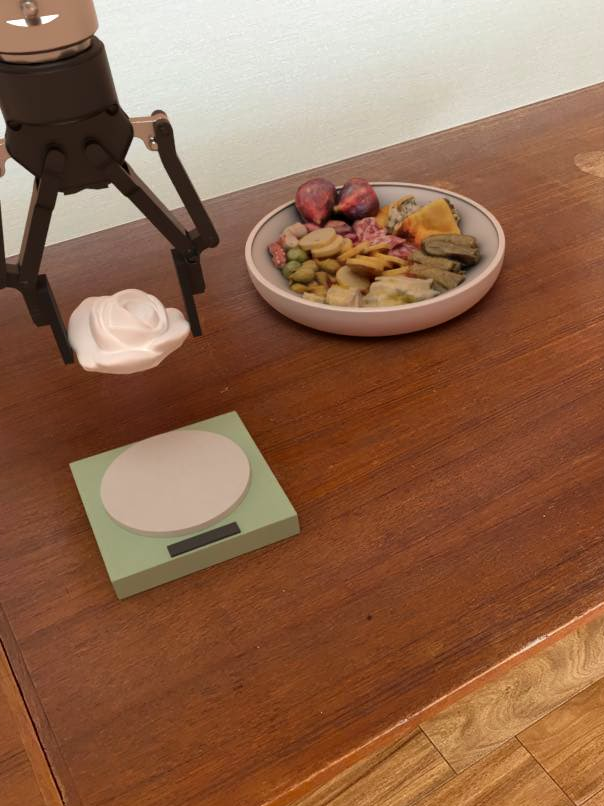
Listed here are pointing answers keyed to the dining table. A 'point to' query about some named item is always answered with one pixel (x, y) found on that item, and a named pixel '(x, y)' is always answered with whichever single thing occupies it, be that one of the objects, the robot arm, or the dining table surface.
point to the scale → (181, 503)
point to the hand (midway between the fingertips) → (132, 341)
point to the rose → (125, 332)
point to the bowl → (374, 256)
